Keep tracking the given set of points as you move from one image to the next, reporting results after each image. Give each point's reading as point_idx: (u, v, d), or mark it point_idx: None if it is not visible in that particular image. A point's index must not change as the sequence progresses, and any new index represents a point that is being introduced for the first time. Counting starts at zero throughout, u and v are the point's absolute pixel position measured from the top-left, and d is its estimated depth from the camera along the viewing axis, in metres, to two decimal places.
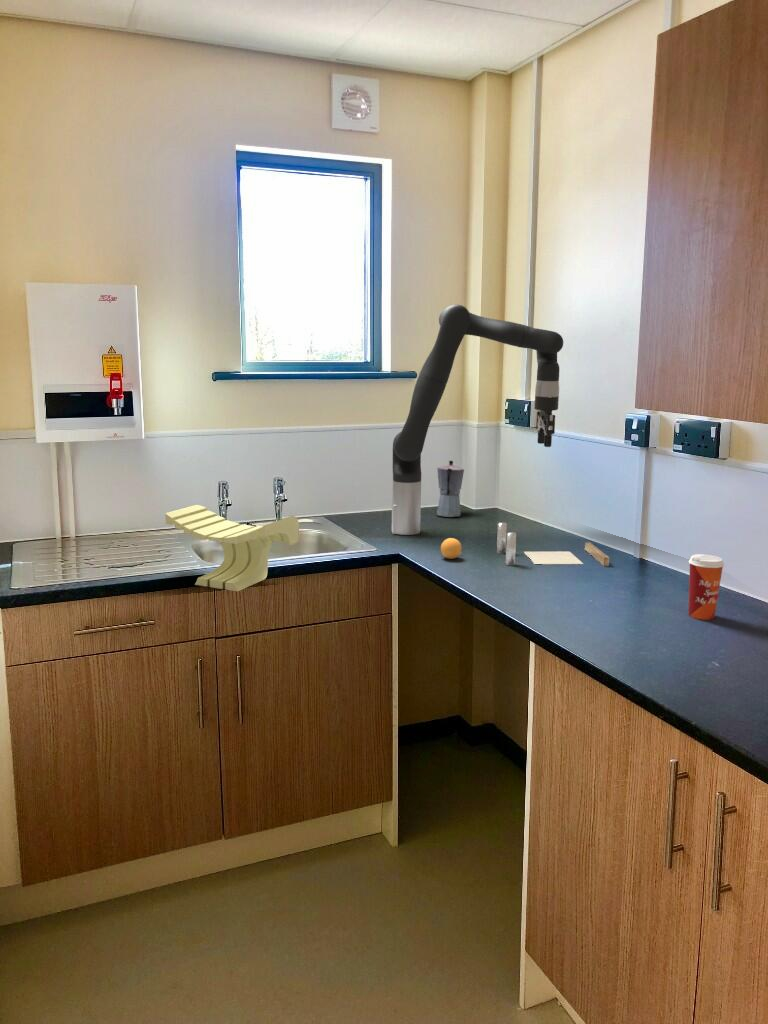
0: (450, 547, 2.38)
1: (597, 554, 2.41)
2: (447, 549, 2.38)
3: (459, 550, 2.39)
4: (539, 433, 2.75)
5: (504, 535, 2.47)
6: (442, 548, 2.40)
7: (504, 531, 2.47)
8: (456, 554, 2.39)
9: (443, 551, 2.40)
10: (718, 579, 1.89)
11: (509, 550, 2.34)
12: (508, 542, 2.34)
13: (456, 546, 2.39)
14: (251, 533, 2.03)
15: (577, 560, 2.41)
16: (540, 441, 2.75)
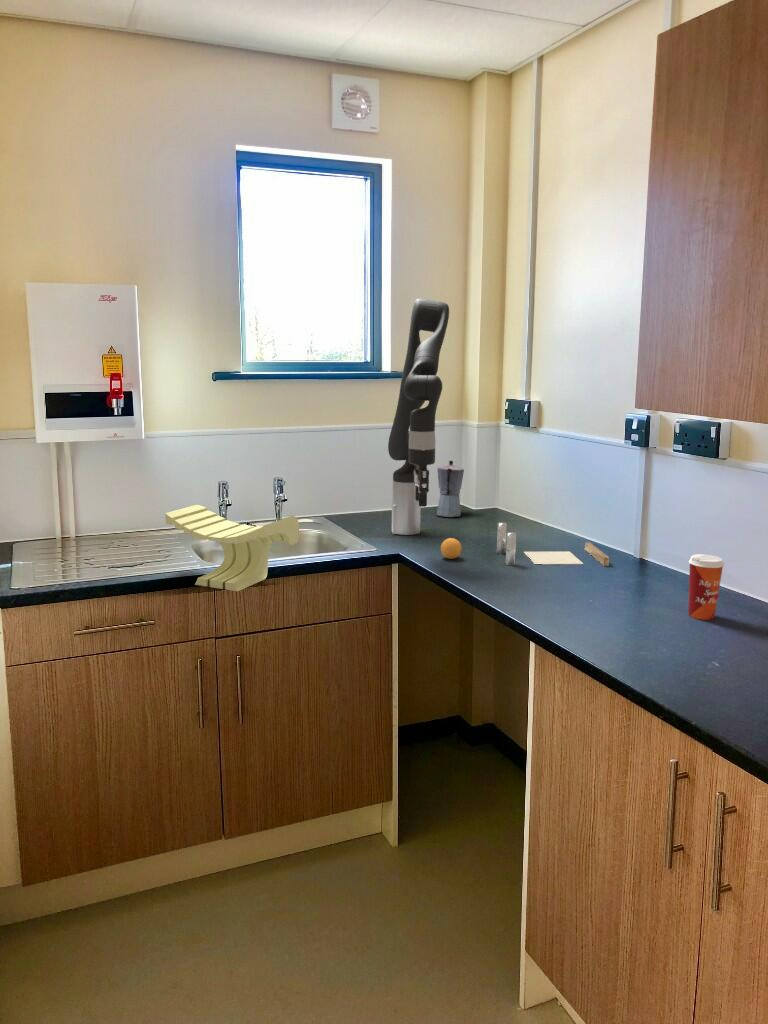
0: (450, 547, 2.38)
1: (597, 554, 2.41)
2: (447, 549, 2.38)
3: (459, 550, 2.39)
4: (417, 489, 2.41)
5: (504, 535, 2.47)
6: (442, 548, 2.40)
7: (504, 531, 2.47)
8: (456, 554, 2.39)
9: (443, 551, 2.40)
10: (718, 579, 1.89)
11: (509, 550, 2.34)
12: (508, 542, 2.34)
13: (456, 546, 2.39)
14: (251, 533, 2.03)
15: (577, 560, 2.41)
16: (418, 498, 2.42)
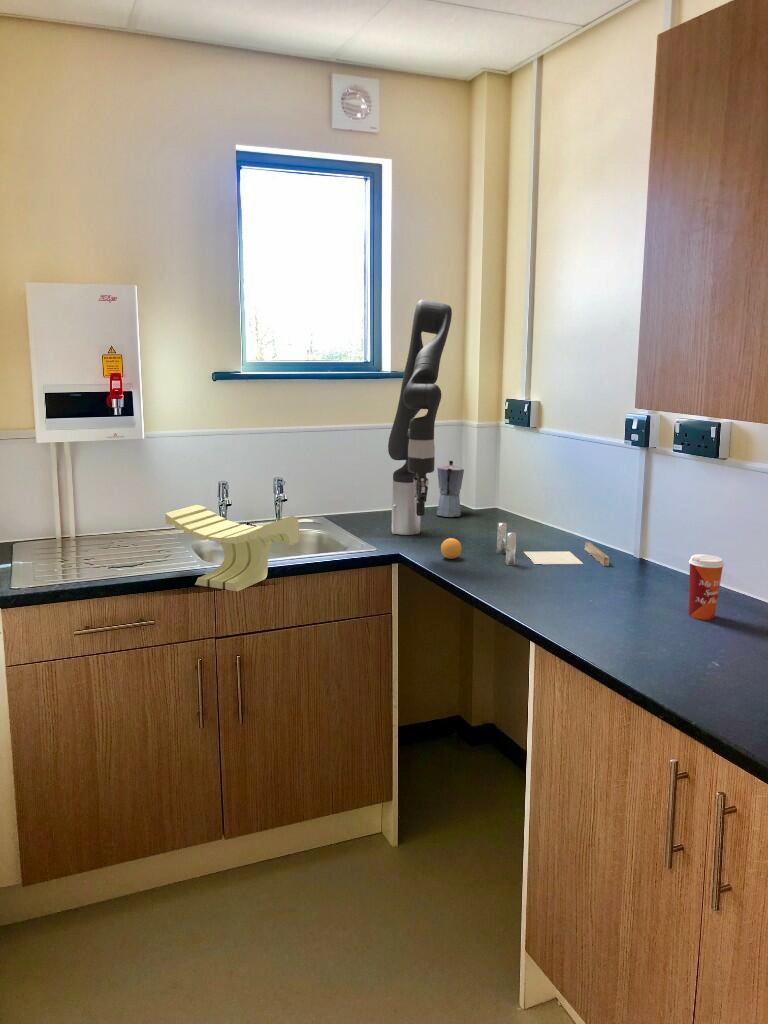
0: (450, 547, 2.38)
1: (597, 554, 2.41)
2: (447, 549, 2.38)
3: (459, 550, 2.39)
4: None
5: (504, 535, 2.47)
6: (442, 548, 2.40)
7: (504, 531, 2.47)
8: (456, 554, 2.39)
9: (443, 551, 2.40)
10: (718, 579, 1.89)
11: (509, 550, 2.34)
12: (508, 542, 2.34)
13: (456, 546, 2.39)
14: (251, 533, 2.03)
15: (577, 560, 2.41)
16: None
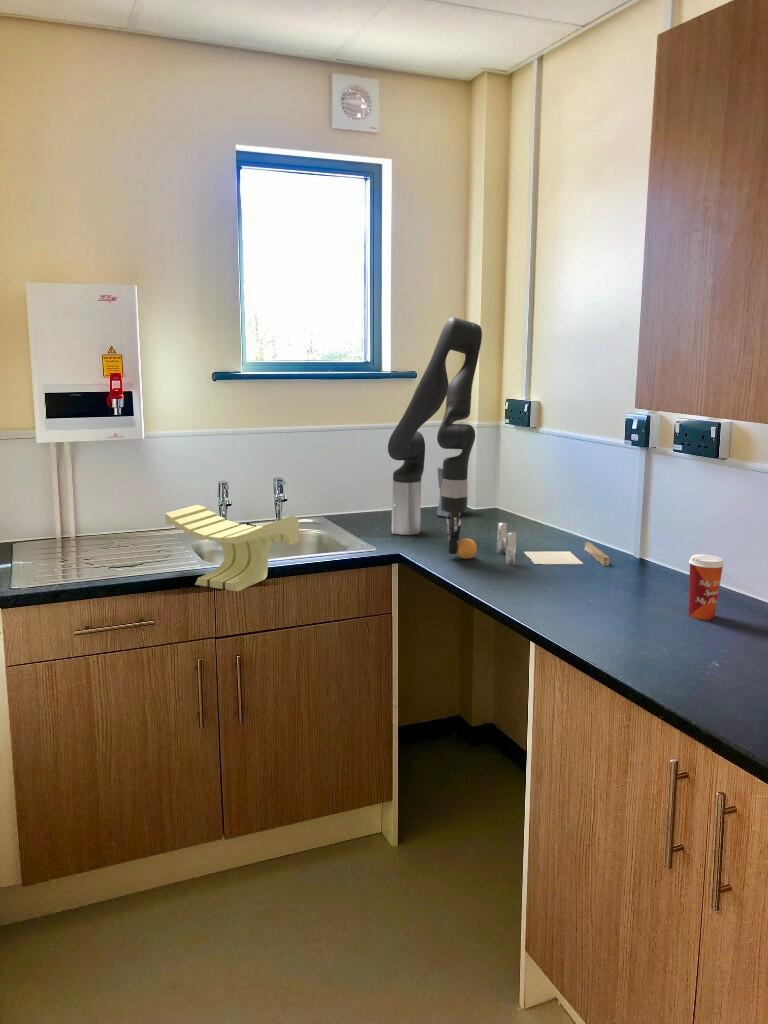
0: (469, 548, 2.38)
1: (597, 554, 2.41)
2: (466, 546, 2.38)
3: (470, 557, 2.40)
4: None
5: (504, 535, 2.47)
6: (463, 541, 2.39)
7: (504, 531, 2.47)
8: (466, 556, 2.39)
9: (461, 544, 2.39)
10: (718, 579, 1.89)
11: (509, 550, 2.34)
12: (508, 542, 2.34)
13: (473, 553, 2.39)
14: (251, 533, 2.03)
15: (577, 560, 2.41)
16: None
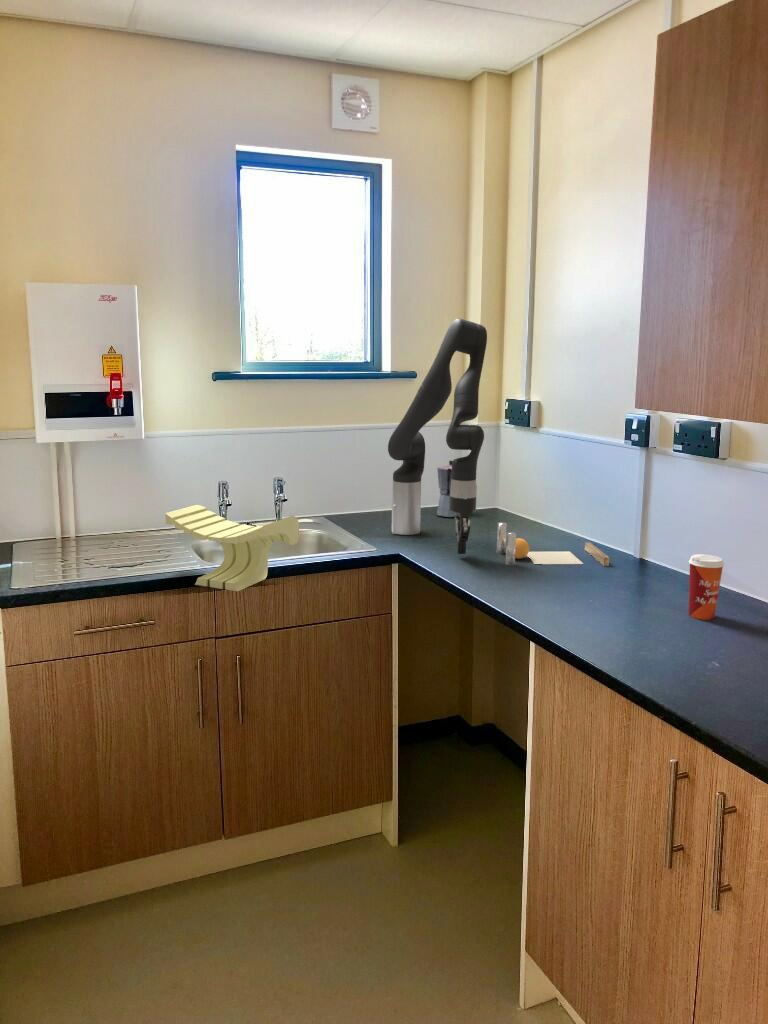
0: (518, 548, 2.39)
1: (597, 554, 2.41)
2: (516, 550, 2.40)
3: (527, 549, 2.40)
4: None
5: (504, 535, 2.47)
6: None
7: (504, 531, 2.47)
8: (525, 554, 2.40)
9: None
10: (718, 579, 1.89)
11: (509, 550, 2.34)
12: (508, 542, 2.34)
13: (525, 546, 2.40)
14: (251, 533, 2.03)
15: (577, 560, 2.41)
16: None
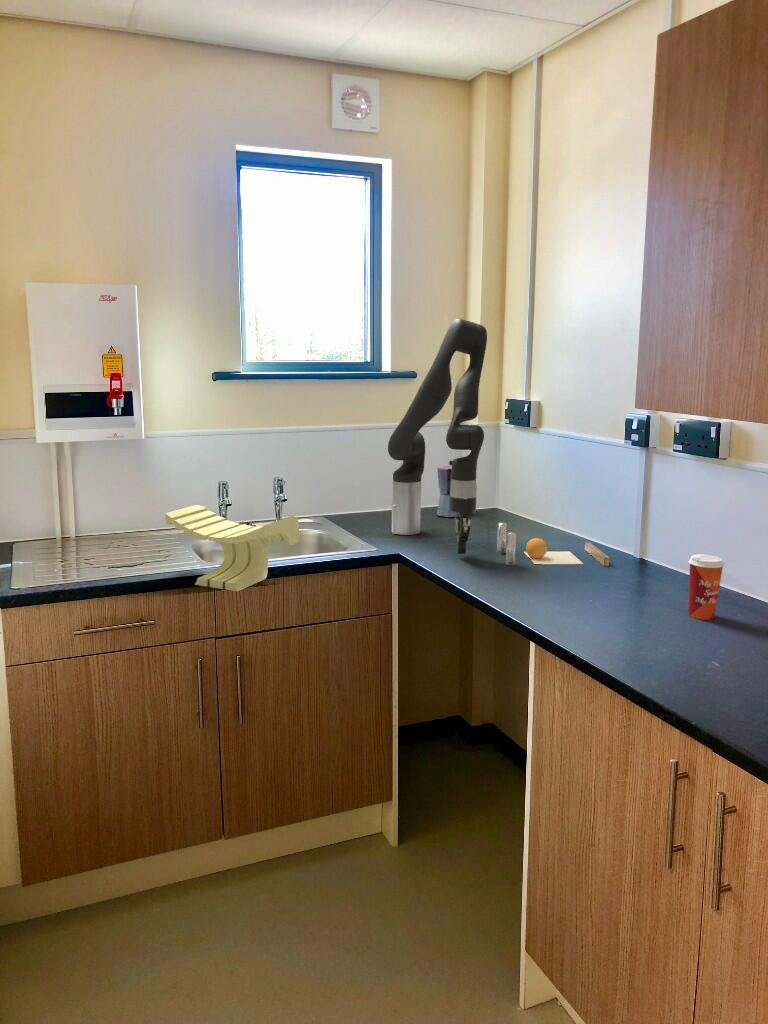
0: (541, 549, 2.40)
1: (597, 554, 2.41)
2: (540, 546, 2.40)
3: (537, 557, 2.41)
4: None
5: (504, 535, 2.47)
6: (538, 540, 2.41)
7: (504, 531, 2.47)
8: (533, 554, 2.41)
9: (536, 541, 2.41)
10: (718, 579, 1.89)
11: (509, 550, 2.34)
12: (508, 542, 2.34)
13: (541, 555, 2.41)
14: (251, 533, 2.03)
15: (577, 560, 2.41)
16: None
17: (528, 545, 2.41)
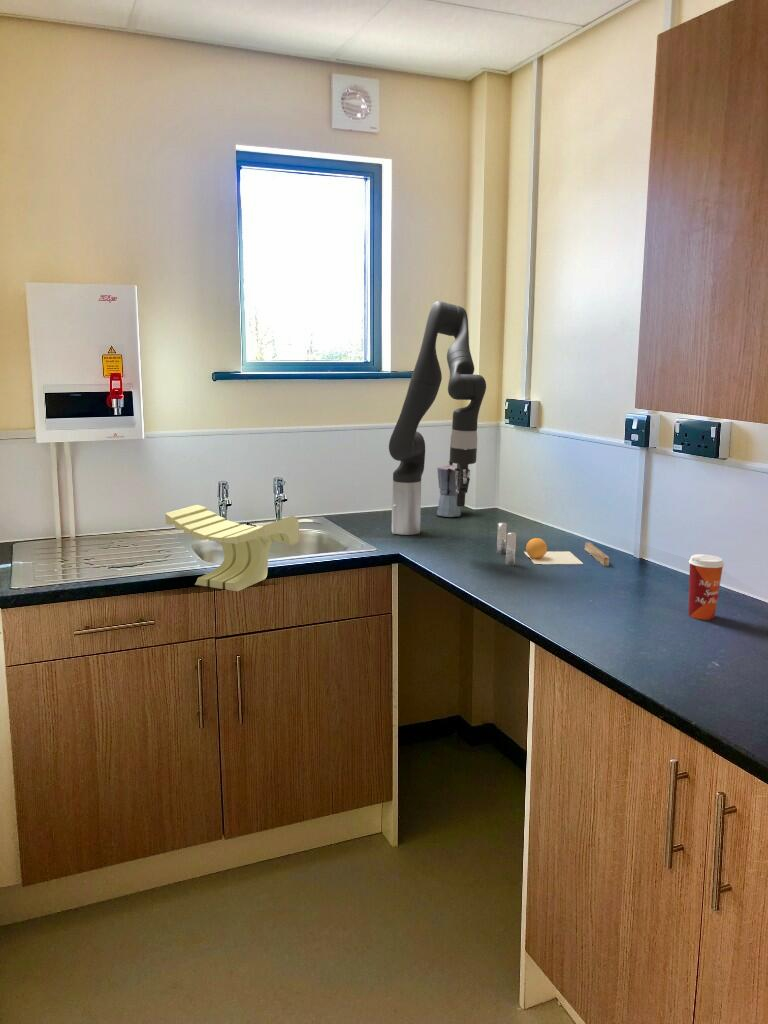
0: (541, 549, 2.40)
1: (597, 554, 2.41)
2: (540, 546, 2.40)
3: (537, 557, 2.41)
4: None
5: (504, 535, 2.47)
6: (538, 540, 2.41)
7: (504, 531, 2.47)
8: (533, 554, 2.41)
9: (536, 541, 2.41)
10: (718, 579, 1.89)
11: (509, 550, 2.34)
12: (508, 542, 2.34)
13: (541, 555, 2.41)
14: (251, 533, 2.03)
15: (577, 560, 2.41)
16: None
17: (528, 545, 2.41)
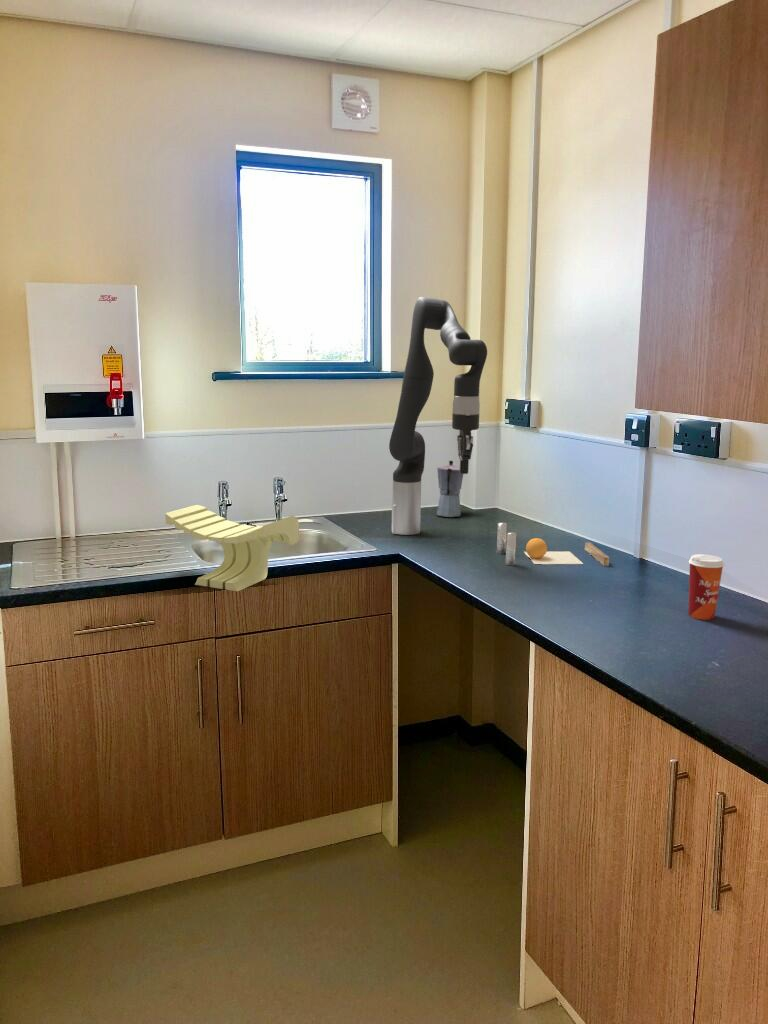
0: (541, 549, 2.40)
1: (597, 554, 2.41)
2: (540, 546, 2.40)
3: (537, 557, 2.41)
4: None
5: (504, 535, 2.47)
6: (538, 540, 2.41)
7: (504, 531, 2.47)
8: (533, 554, 2.41)
9: (536, 541, 2.41)
10: (718, 579, 1.89)
11: (509, 550, 2.34)
12: (508, 542, 2.34)
13: (541, 555, 2.41)
14: (251, 533, 2.03)
15: (577, 560, 2.41)
16: None
17: (528, 545, 2.41)
